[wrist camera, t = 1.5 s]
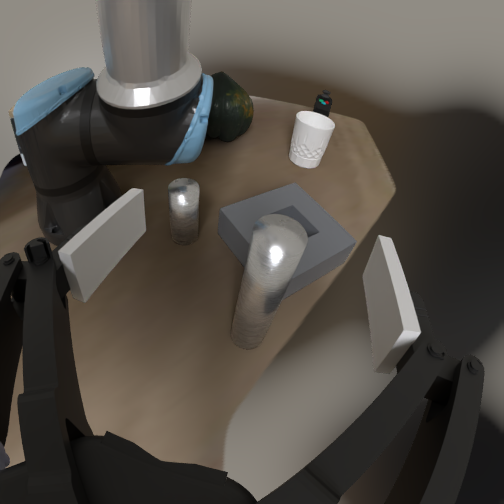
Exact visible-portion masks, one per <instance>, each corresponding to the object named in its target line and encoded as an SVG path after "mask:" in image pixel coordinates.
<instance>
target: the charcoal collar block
mask: <svg viewBox="0 0 504 504" xmlns="http://www.w3.org/2000/svg"><path fill="white" fill-rule="evenodd" d="M269 214H281V215H285V216H288V217H291V218H293V219H294V220H296V221H297V222H299V223H300V224H301V225H302V226H303V228H304V229H305V231H306V233H307V237H308V241H307V245H306V247H305V250H304V252H303V254H302V256H301V259H300V261H299V263H298V265H297V268H296V270H295V272H294V274H293V277H292V279H291V281H290V283H289V285H288V288H287V290H286V292H285V294H284V296H283V299H285V298H287V297H288V296H290V295H292V294H293V293H295V292H297V291H298V290H300V289H302V288H303V287H305V286H307V285H309V284H310V283H312V282H313V281H315V280H317V279H318V278H320V277H322V276H323V275H325V274H327V273H328V272H330V271H331V270H333V269H335V268H336V267H338V266H339V265H341V264H343V263H344V262H345V260H346V259H347V257H348V256H349V254H350V252H351V251H352V249H353V247H354V246H355V244H356V242H357V241H356V240H355V239H354V238H353V237H352V236H351V235H350V234H349V233H348V232H347V231H346V230H345V229H344V228H343V227H342V226H341V225H340V224H339V223H338V222H337V221H336V220H335V219H334V218H333V217H332V216H331V215H329V214H328V213H327V212H326V211H325V210H324V209H323V208H322V207H321V206H320V205H319V204H318V203H317V202H316V201H315V200H314V199H313V198H311V197H310V196H309V195H308V194H307V193H306V192H305V191H304V190H303V189H302V188H301V187H299V186H298V185H297V184H296V183H293V184H290V185H287V186H284V187H280V188H277V189H274V190H271V191H269V192H266V193H263V194H260V195H257V196H254V197H251V198H248V199H245V200H242V201H240V202H237V203H234V204H231V205H228V206H226V207H223V208H220V212H219V223H218V234H219V235H220V237H221V238H222V239H223V241H224V242H225V243H226V244H227V246H228V247H229V248H230V250H231V251H232V252H233V253H234V255H235V256H236V257H237V259H238V260H239V261H240V262H241V264H242V265H243V266H244V268H245V264H246V259H247V254H248V250H249V245H250V241H251V236H252V231H253V227H254V224H255V223H256V221H257V220H258V219H259V218H261V217H263V216H265V215H269ZM283 299H282V300H283Z"/></svg>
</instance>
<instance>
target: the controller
mask: <svg viewBox="0 0 504 504" xmlns="http://www.w3.org/2000/svg"><path fill="white" fill-rule="evenodd" d="M323 93H324V94H322V95H318V96H317V98H316V102H315V105H314V110H313V112H315V113H319V114H321V115H324V116H326V117H328V116H329V112H330V108H331V105H332V99H331V98H330V97H329V96H328V94H330V92H329V91H326V90H323Z"/></svg>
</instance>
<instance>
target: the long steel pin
mask: <svg viewBox="0 0 504 504" xmlns="http://www.w3.org/2000/svg"><path fill="white" fill-rule="evenodd" d="M307 241H308V237H307V233H306V231H305V229H304V228H303V226H302V225H301V224H300V223H299V222H297V221H296V220H294V219H293V218H291V217H288V216H285V215H281V214H269V215H265V216H263V217H261V218H259V219H258V220H257V221H256V223H255V224H254V227H253V231H252V236H251V241H250V245H249V250H248V254H247V259H246V264H245V268H244V273H243V277H242V282H241V287H240V291H239V296H238V301H237V305H236V310H235V314H234V319H233V324H232V328H231V339H232V341H233V342H234V344H235V345H236V346H238V347H240V348H242V349H246V350H250V349H254V348H256V347H258V346H259V345H260V344H261V343H262V341H263V339H264V337H265V335H266V333H267V331H268V328H269V326H270V324H271V322H272V320H273V318H274V316H275V314H276V311H277V309H278V307H279V305H280V303H281V301H282V299H283V296H284V294H285V292H286V290H287V288H288V285H289V283H290V281H291V279H292V277H293V274H294V272H295V270H296V268H297V265H298V263H299V261H300V259H301V256H302V254H303V252H304V250H305V247H306V245H307Z"/></svg>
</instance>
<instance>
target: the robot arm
mask: <svg viewBox="0 0 504 504" xmlns="http://www.w3.org/2000/svg"><path fill="white" fill-rule="evenodd" d="M191 2H192V0H96V7H97V14H98V22H99V28H100V34H101V41H102V47H103V52H104V57H105V62H106V67H105V68H104V69H103V70H102V71H101V73H100V75H99V76H98V79H93V78H94V73H93V71H92V70H91V69H90V68H88V67H87V68H84V67H82V68H76V69H73V70H69V71H66V72H63V73H61V74H58V75H56V76H54V77H52V78H49V79H47V80H45V81H44V82H42V83H40V84H38V85H36V86H35V87H33V88H32V89H30V90H29V91H28V92H26V93H25V94H24V95H23V96H22V97H21V98H20V99H19V100H18V101H17V103H16V104H15V107H14V111H13V115H14V121H15V126H16V135H17V137H18V140H19V143H20V147H21V150H22V153H23V156H24V159H25V162H26V164H27V167H28V170H29V173H30V176H31V178H32V181H33V183H34V186H35V189H36V193H37V214H38V222H39V226H40V228H41V230H42V232H43V234H44V236H45V237H46V238H43V237H41V238H36V239H33V240H31V241H30V242H28V243H27V244H26V245H25V248H24V250H25V253H26V256H27V259H28V261H21V259H20V256H19V254H18V253H15V252H13V253H8V254H6V255H5V256H4V257H2V258H1V259H0V504H337V503H338V502H339V500H340V497H341V496H342V494H344V492H346V491H347V490H348V489H349V488H350V487H351V486H352V485H353V484H354V483H355V482H356V481H357V480H358V478H359V477H360V476H361V475H362V474H363V473H364V472H365V471H366V470H367V469H368V468H369V467H370V466H371V465H372V463H373V462H374V461H375V460H376V459H377V458H378V457H379V455H380V454H381V453H382V452H383V450H385V448H386V447H387V446H388V445H389V444H390V442H391V441H392V440H393V439H394V437H395V436H396V434H398V432H399V431H400V430H401V428H402V427H403V426H404V424H405V423H406V422H407V420H408V419H409V418H410V416H411V415H412V413H413V412H414V411H415V409H416V408H417V406H418V405H419V403H420V402H421V400H422V399H423V397H424V398H426V399H428V402H427V405H426V408H425V411H424V414H423V417H422V420H421V423H420V425H419V428H418V431H417V434H416V436H415V439H414V441H413V444H412V446H411V449H410V451H409V453H408V456H407V458H406V460H405V463H404V465H403V467H402V469H401V471H400V473H399V476H398V478H397V480H396V482H395V484H394V486H393V488H392V490H391V492H390V494H389V496H388V497H387V499H386V501H385V503H384V504H455V501H456V498H457V496H458V493H459V490H460V487H461V484H462V481H463V478H464V475H465V472H466V468H467V465H468V461H469V457H470V454H471V450H472V445H473V441H474V436H475V432H476V427H477V422H478V416H479V411H480V405H481V398H482V390H483V382H484V367H483V365H482V363H481V362H480V360H479V359H478V358H476V357H475V356H473V355H466V356H465V357H463V359H462V360H461V361H459V360H457V359H455V358H452V357H450V356H448V355H447V350H446V349H445V347H444V345H443V344H442V343H441V342H439V341H438V340H436V339H435V338H434V334H433V331H432V327H431V324H430V320H429V317H428V314H427V311H426V308H425V304H424V301H423V300H422V299H421V297H420V296H419V295H418V293H416V292H411V291H409V288H408V285H407V283H406V279H405V276H404V273H403V270H402V267H401V264H400V261H399V258H398V256H397V253H396V250H395V247H394V244H393V242H392V239H391V238H388V237H384V236H380V235H379V236H378V238H377V240H376V243H375V245H374V248H373V251H372V253H371V256H370V258H369V261H368V263H367V266H366V268H365V271H364V273H363V282H364V288H365V295H366V302H367V308H368V317H369V325H370V333H371V343H372V353H373V364H374V372H376V373H385V374H390V373H391V372H392V370H393V369H394V368H395V367H396V368H397V375H396V376H395V377H394V378H393V380H392V381H391V382H390V383H389V384H388V385H387V387H386V388H385V389H384V390H383V391H382V393H381V394H380V395H379V396H378V397H377V398H376V399H375V400H374V401H373V403H372V404H371V405H370V406H369V407H368V408H367V409H366V410H365V411H364V412H363V413H362V414H361V415H360V416H359V418H357V419H356V420H355V421H354V423H352V424H351V425H350V426H349V427H348V428H347V429H346V430H345V431H344V432H343V433H342V434H341V435H340V436H339V437H338V438H337V439H336V440H335V441H334V442H333V443H332V444H330V445H329V446H328V447H327V448H326V449H325V450H324V451H323V452H322V453H320V454H319V455H318V456H317V457H316V458H315V459H313V460H312V461H311V462H310V463H309V464H307V465H306V466H305V467H304V468H303V469H301V470H300V471H299V472H298V473H296V474H295V475H294V476H293V477H291V478H290V479H289V480H287V481H286V482H285V483H283V484H282V485H281V486H279V487H278V488H277V489H275V490H274V491H272V492H271V493H270V494H268V495H267V496H265V497H264V498H262V499H261V500H260V501H258V502H257V501H256V499H255V498H254V497H253V495H252V494H251V493H250V492H249V491H248V490H247V489H246V488H244V487H243V486H242V485H240V484H239V483H237V482H236V481H234V480H232V479H230V478H228V477H227V473H228V472H225V471H221V470H216V469H212V468H209V467H205V466H201V465H197V464H187V463H175V462H164V461H160V460H158V459H157V458H155V457H154V456H152V455H151V454H149V453H148V452H146V451H145V450H143V449H142V448H140V447H139V446H138V445H136V444H135V443H133V442H131V441H128V440H126V439H124V438H121V437H119V436H117V435H115V434H112V433H110V432H108V431H106V433H105V436H97V435H95V436H94V435H93V432H92V430H91V428H90V426H89V424H88V422H87V419H86V416H85V412H84V408H83V403H82V399H81V394H80V389H79V384H78V379H77V373H76V367H75V361H74V354H73V347H72V339H71V331H70V321H69V309H68V299H67V296H66V293H67V292H68V291H69V290H71V293H72V296H73V298H74V299H76V300H79V301H81V302H84V303H85V302H86V301H87V300H88V299H89V297H90V296H91V295H92V294H93V292H94V291H95V290H96V289H97V287H98V286H99V285H100V284H101V282H102V281H103V280H104V279H105V278H106V276H107V275H108V274H109V273H110V272H111V270H112V269H113V268H114V267H115V266H116V264H117V263H118V262H119V261H120V260H121V259H122V257H123V256H124V255H125V254H126V253H127V252H128V251H129V249H130V248H131V247H132V246H133V245H134V244H135V243H136V241H137V240H138V239H139V238H140V237H141V236H142V235H143V234H144V233H145V231H146V223H145V209H144V193H143V190H142V189H136V188H132V189H130V190H129V191H128V192H126V193H125V194H124V195H123V196H122V195H121V191H120V188H119V186H118V184H117V182H116V181H115V179H114V178H113V176H112V175H111V173H110V171H109V170H108V168H107V167H106V165H171V164H178V163H190V162H193V161H194V160H196V159H197V158H198V156H199V155H200V153H201V150H202V147H203V144H204V140H205V136H206V131H207V126H208V118H209V113H210V110H211V103H212V96H213V78H212V77H211V76H209V75H206V74H204V73H202V68H201V64H200V62H199V60H198V59H197V58H196V57H195V56H194V55H193V54H191V53H190V52H188V50H189V30H190V15H191ZM49 242H51V243H53V244H55V245H57V246H58V247H56V248H55V249H54V250H53V251H51V248H50V244H49ZM11 296H12V298H11ZM22 345H23V382H24V393H23V394H19V396H18V401H17V404H18V415H19V424H20V431H21V438H22V444H23V450H24V456H25V461H24V462H21V463H19V464H16V465H14V466H11V467H8V468H6V469H5V467H7V466H8V465H9V463H10V458H9V456H8V455H7V454H6V453H5V449H4V446H5V442H6V437H7V433H8V426H9V418H10V410H11V402H12V395H13V389H14V383H15V378H16V372H17V367H18V363H19V358H20V354H21V349H22ZM226 477H227V478H226Z"/></svg>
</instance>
